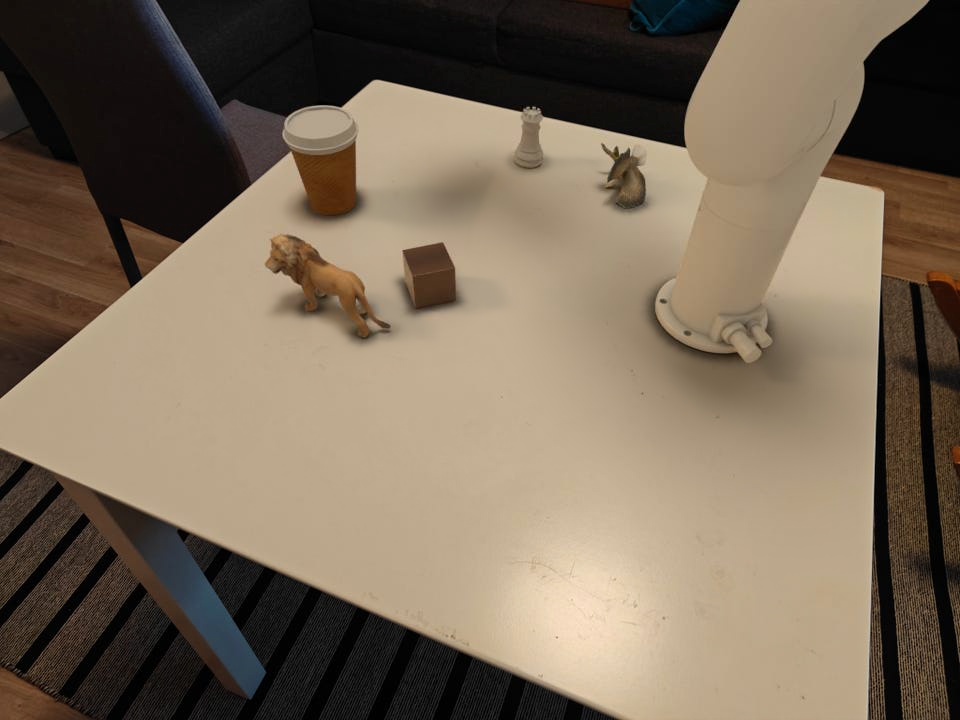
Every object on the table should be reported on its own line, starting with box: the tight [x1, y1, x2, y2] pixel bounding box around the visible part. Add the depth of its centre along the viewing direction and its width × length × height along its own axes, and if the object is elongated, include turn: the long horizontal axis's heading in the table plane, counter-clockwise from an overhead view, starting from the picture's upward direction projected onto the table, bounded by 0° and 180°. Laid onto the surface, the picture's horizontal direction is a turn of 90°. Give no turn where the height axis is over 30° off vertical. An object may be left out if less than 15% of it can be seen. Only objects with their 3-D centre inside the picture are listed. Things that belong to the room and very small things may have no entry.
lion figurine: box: [264, 233, 391, 338], centre depth 72 cm, size 15×5×9 cm, turn 66°
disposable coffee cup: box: [282, 104, 359, 216], centre depth 86 cm, size 10×10×12 cm
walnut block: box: [401, 242, 457, 310], centre depth 76 cm, size 5×5×5 cm
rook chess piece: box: [513, 106, 544, 169], centre depth 95 cm, size 4×4×8 cm
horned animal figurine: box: [600, 142, 647, 209], centre depth 91 cm, size 8×7×9 cm
